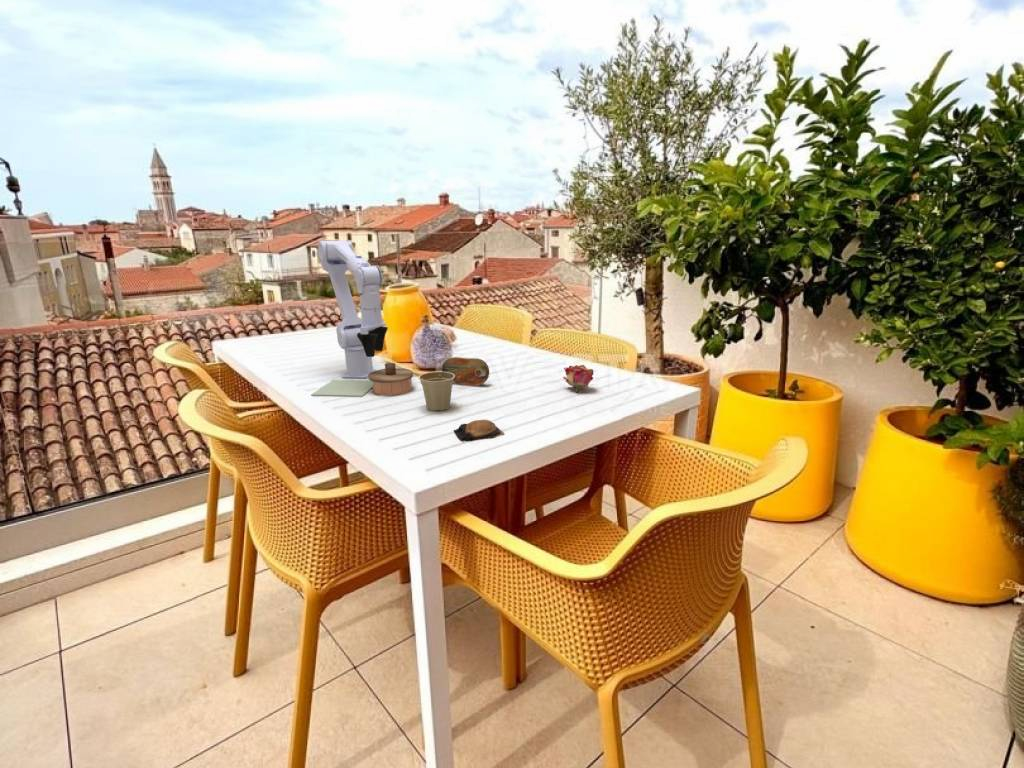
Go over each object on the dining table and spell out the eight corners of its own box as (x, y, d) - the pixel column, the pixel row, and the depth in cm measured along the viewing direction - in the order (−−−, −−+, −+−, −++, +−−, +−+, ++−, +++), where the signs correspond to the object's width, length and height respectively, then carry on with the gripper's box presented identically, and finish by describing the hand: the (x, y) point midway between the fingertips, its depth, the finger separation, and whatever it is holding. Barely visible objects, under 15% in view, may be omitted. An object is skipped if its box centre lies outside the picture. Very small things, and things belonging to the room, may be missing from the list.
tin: (441, 383, 153) (440, 356, 151) (446, 380, 156) (445, 354, 154) (487, 387, 149) (486, 360, 146) (490, 384, 152) (490, 358, 149)
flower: (596, 391, 139) (598, 365, 142) (564, 384, 139) (567, 358, 141) (586, 400, 149) (589, 375, 151) (557, 394, 148) (560, 369, 150)
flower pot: (449, 414, 126) (448, 382, 124) (415, 412, 128) (413, 380, 126) (460, 402, 135) (459, 372, 133) (428, 400, 137) (426, 370, 135)
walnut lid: (376, 370, 153) (375, 358, 152) (417, 370, 152) (417, 358, 151) (361, 382, 140) (360, 369, 139) (407, 382, 140) (406, 369, 138)
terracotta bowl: (380, 383, 153) (379, 371, 152) (415, 384, 152) (414, 371, 151) (368, 394, 142) (367, 381, 141) (405, 395, 142) (404, 381, 140)
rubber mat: (333, 381, 156) (332, 379, 156) (379, 381, 155) (379, 380, 155) (311, 395, 142) (311, 394, 141) (362, 396, 141) (362, 395, 140)
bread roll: (492, 425, 120) (492, 411, 119) (506, 438, 113) (506, 422, 112) (450, 432, 116) (450, 418, 115) (462, 445, 109) (462, 430, 108)
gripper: (376, 312, 138) (379, 359, 141) (391, 305, 151) (394, 348, 155) (351, 311, 138) (355, 359, 142) (369, 305, 152) (372, 348, 156)
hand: (374, 353), depth 149 cm, fingers open, 7 cm apart
